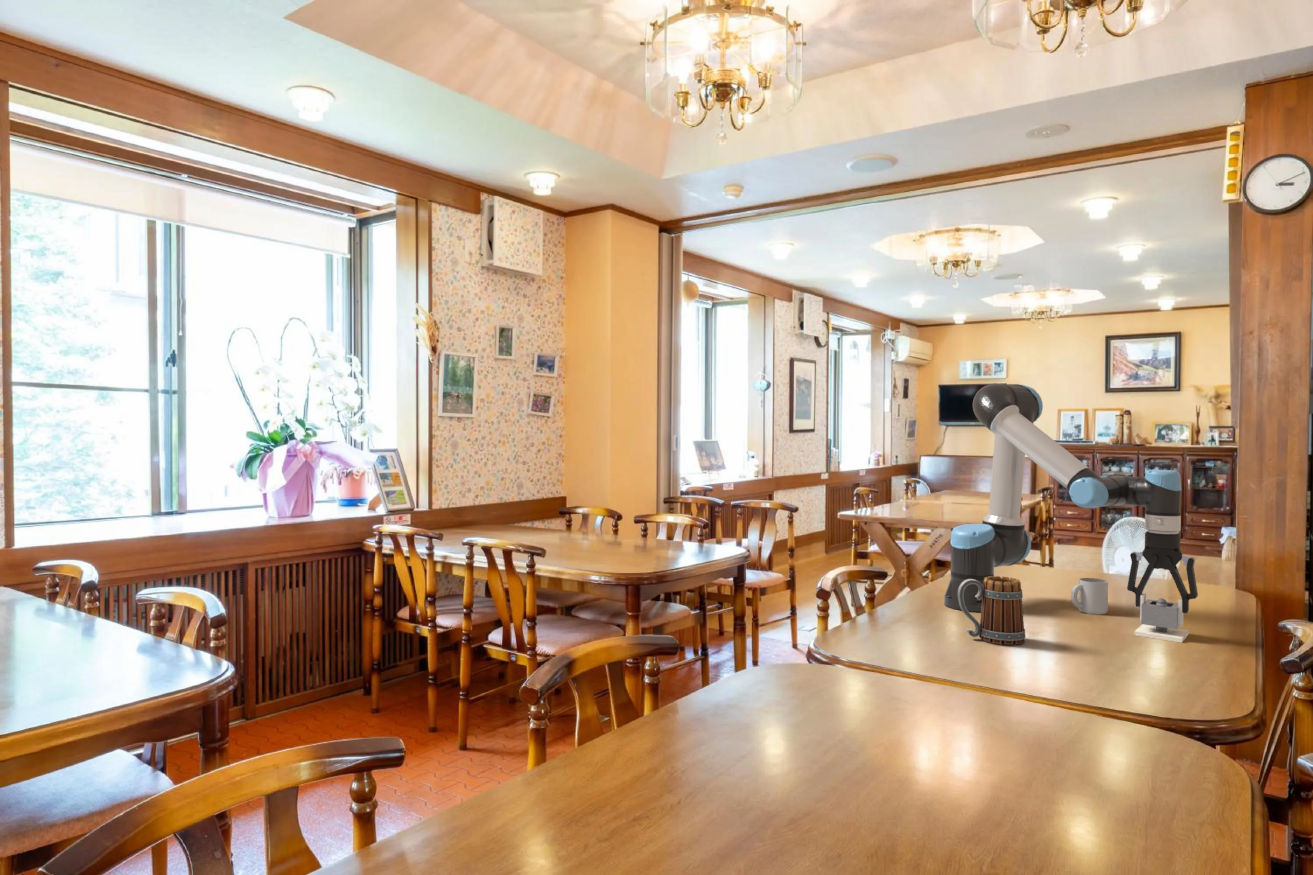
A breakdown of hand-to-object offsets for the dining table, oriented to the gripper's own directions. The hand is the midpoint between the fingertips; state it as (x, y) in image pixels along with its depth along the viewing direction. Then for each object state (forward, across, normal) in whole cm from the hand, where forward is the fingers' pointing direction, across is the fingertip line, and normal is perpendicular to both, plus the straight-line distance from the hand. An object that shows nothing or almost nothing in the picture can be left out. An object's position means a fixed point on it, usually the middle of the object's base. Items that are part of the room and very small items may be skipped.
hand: (1161, 622), depth 198 cm
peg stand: (+3, 0, 0) cm, 3 cm away
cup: (+3, -20, +15) cm, 25 cm away
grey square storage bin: (0, 0, 0) cm, 0 cm away
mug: (+3, -30, -33) cm, 45 cm away
